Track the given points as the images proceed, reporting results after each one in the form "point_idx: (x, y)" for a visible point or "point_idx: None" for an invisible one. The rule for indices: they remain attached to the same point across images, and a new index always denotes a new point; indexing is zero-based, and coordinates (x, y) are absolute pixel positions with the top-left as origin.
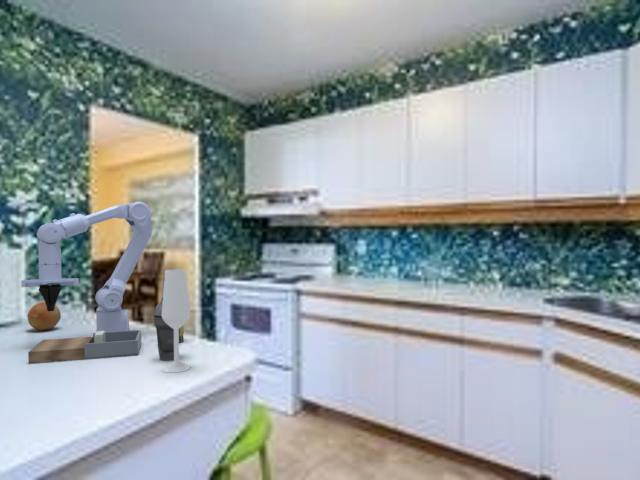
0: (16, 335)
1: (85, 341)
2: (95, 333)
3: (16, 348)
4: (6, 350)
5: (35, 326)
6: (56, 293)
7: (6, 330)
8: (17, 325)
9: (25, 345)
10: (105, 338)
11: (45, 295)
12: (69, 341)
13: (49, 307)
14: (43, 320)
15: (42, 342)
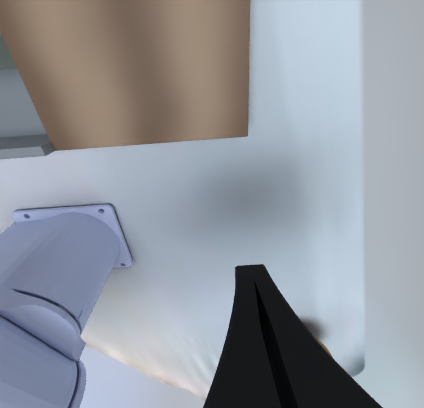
0: (341, 306)
1: (24, 36)
2: (30, 146)
3: (331, 178)
4: (359, 158)
5: None
6: (206, 401)
7: (362, 342)
8: (343, 367)
9: (309, 209)
10: (10, 143)
11: (315, 375)
12: (112, 61)
13: (256, 280)
14: None
15: (236, 74)
